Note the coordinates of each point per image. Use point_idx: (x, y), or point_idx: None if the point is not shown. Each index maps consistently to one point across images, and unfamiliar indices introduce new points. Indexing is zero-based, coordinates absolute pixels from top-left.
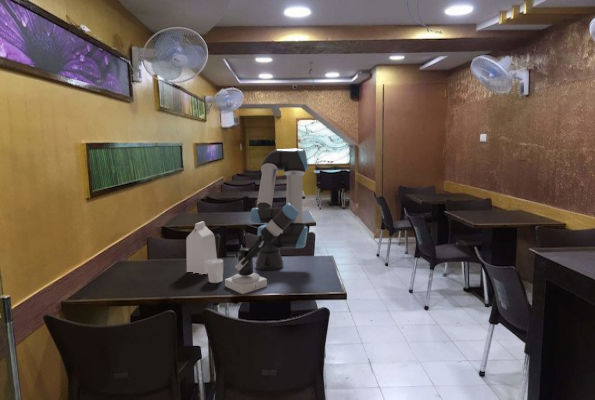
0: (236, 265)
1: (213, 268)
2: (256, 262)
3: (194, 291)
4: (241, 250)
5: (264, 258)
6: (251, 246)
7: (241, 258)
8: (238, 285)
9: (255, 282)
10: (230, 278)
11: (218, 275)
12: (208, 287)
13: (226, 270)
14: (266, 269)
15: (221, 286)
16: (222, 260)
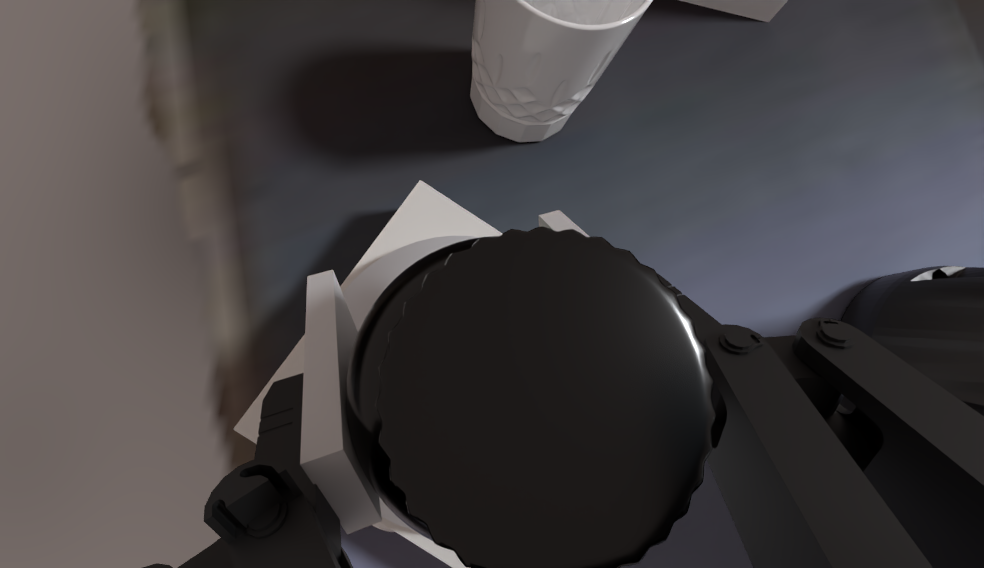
0: (309, 298)
1: (479, 4)
2: (912, 288)
3: (274, 26)
4: (389, 339)
5: (972, 381)
6: (921, 442)
7: (349, 365)
8: (278, 371)
9: (381, 522)
10: (443, 223)
11: (497, 94)
12: (374, 93)
13: (740, 95)
14: (846, 402)
15: (413, 178)
16: (628, 16)
